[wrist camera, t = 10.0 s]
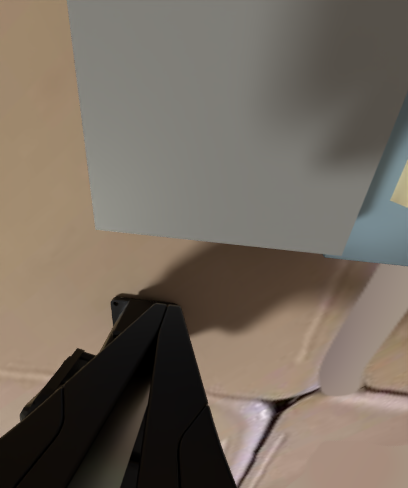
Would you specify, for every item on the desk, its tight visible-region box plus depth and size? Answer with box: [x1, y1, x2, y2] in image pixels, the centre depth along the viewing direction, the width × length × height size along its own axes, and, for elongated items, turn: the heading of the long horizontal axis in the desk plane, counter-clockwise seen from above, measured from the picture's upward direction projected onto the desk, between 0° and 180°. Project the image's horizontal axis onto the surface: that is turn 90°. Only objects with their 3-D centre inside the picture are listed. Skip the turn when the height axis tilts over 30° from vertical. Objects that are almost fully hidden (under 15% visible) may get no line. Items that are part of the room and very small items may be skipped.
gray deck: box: [67, 0, 408, 256], centre depth 14 cm, size 14×16×4 cm
